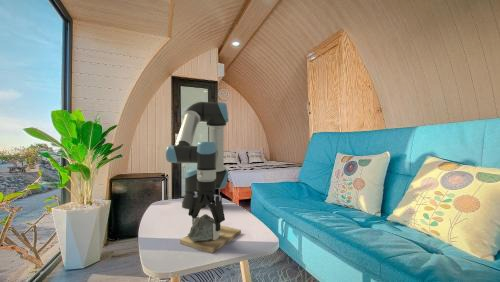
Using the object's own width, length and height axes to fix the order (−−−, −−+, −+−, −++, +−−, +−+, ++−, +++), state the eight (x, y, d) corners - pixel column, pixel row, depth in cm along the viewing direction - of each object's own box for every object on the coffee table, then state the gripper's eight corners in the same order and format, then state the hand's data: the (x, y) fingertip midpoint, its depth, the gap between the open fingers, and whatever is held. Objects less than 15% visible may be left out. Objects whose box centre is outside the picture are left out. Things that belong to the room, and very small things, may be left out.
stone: (202, 216, 82) (210, 208, 92) (182, 231, 83) (192, 222, 93) (218, 236, 82) (224, 226, 92) (197, 252, 82) (205, 240, 92)
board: (211, 226, 103) (211, 223, 103) (240, 233, 96) (240, 229, 96) (179, 243, 86) (179, 239, 86) (212, 253, 78) (212, 249, 78)
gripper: (179, 178, 89) (178, 233, 89) (223, 184, 79) (222, 246, 79) (192, 176, 96) (191, 227, 96) (234, 181, 86) (234, 238, 86)
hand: (205, 236), depth 87 cm, fingers closed on stone, 9 cm apart
